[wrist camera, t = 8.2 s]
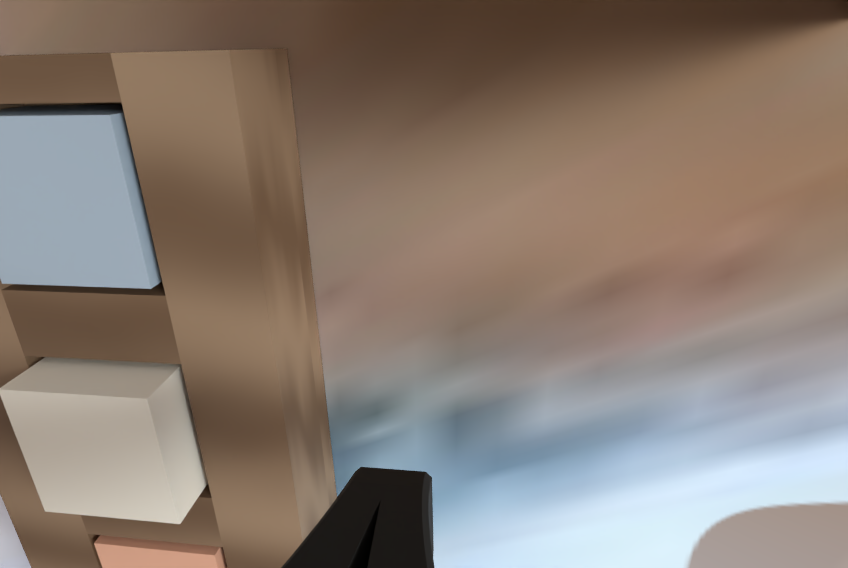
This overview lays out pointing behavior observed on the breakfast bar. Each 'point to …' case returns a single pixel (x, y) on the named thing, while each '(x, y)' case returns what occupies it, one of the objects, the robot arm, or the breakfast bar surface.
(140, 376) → the cream key
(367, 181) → the breakfast bar surface
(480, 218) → the breakfast bar surface
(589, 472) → the breakfast bar surface
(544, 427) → the breakfast bar surface
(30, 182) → the slate key
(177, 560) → the terracotta key
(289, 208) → the key panel
